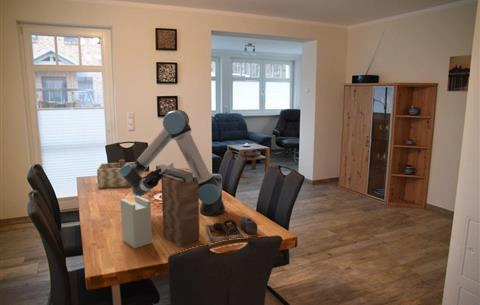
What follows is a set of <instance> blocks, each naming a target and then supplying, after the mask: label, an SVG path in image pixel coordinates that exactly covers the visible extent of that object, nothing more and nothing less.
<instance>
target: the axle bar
mask: <svg viewBox="0 0 480 305" xmlns="http://www.w3.org/2000/svg"><path fill="white" fill-rule="evenodd" d="M162 165H163V164H159V165H155V170H158V169H159V168H160V167H161V166H162ZM164 165H165V167H166V170H165V171H164V172H163V173H161V174H159V175H163V174H167V175H170V176H173V177H176V178H179V179H183V180H184V182H185V183H187V182H192V181H193V173H192V172H191V171H187V170H183V169H179V168H176V167H174V168H173V167H170V166H169V165H166V164H164Z"/></svg>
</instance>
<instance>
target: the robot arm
mask: <svg viewBox="0 0 480 305" xmlns="http://www.w3.org/2000/svg"><path fill="white" fill-rule="evenodd" d="M189 123H190V117H189V115H188V113H187V112H186V111H184V110H182V109H176V110H171V111H169V112H167V113H166V114H165V115H164V117H163V120H162V127H163V129H162V130H160V132H159V133H158V134H157V136H155V138H154V139H153V140H152V141H151V142H150V144H149V145H148V146H147V148H145V149H144V151H143V152H142V153H141V155H140V156H139V157H138V158H137V159H136V160H135V161H133V162H134V164H133V165H131V164H130V163H127V162H126V163H127V164H126V165H124V166H123V167H122V168H121V169H120V170H119V173H120V174H121V175H122V177H123V178H124V179H125V180H126V181H127V182H128V183H129V184H130V185H131V186H130V187H131V188H132V189H131V190H132V194H133V195H134V197H135V196H140V197H143V196H145V195H147V193H149V192H151V190H152V189H154V188H155V187H157V186H158V184H159V182H160V181H161V178H163V175H159V174H161V173H163V172H164V171H165V170H166V167H165V165H166V164H161V165H162V166H161V167H160V168H159V169H158V170H156V169H155V170H150V172H149V173H148V174H146V175H145V176H142V175H143V174H144V173H145V171H146V170H147V168H148V167H149V166H150V165H151V164H152V163H153V161H154V160H156V158H157V157H158V156H159V155H160V154H161V152H162V151H163V150H164V149H165V147H167V146H168V145H169V143H170V142H171V141H172V140H173V141H175V142H176V143H177V145H178V147H179V148H178V149H179V150H180V152H181V153H182V156H183V158H184V160H185V162H186V164H187V166H188V168H189V169H190V170H189V171H190V172H191V173H193V176H194V177H197V180H198V193H199V201H200V202H201V203H200V205H199V214H201V215H204V216H208V217H213V216H214V217H215V216H221V215H222V214H224V213H226V206H225V203H224V200H223V177H222V176H223V175H222V174H220V173H210V172H209V171H210V170H209V169H208V167H207V165H206V164H205V161H204V160H203V157H202V155H201V153H200V151H199V149H198V145H196V142H195V141H194V138H193V136H192V134H191V133H192V128H191V125H190V124H189ZM168 166H170V167H173V168H175V165H174V163H170V164H169V165H168Z"/></svg>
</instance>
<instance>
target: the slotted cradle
mask: <svg viewBox="0 0 480 305" xmlns="http://www.w3.org/2000/svg"><path fill="white" fill-rule="evenodd" d="M119 202H120V214H121V215H120V216H121V217H120V218H121V231H122V232H121V233H122V234H121V235H122V242H124V243H126V244H127V245H128V246H131V247H132V248H133V249H137V248H140V247H143V246H146V245H148V244H152V243H153V234H152V233H153V232H152V231H153V230H152V210H151V201H150V200H148V199H146V198H144V197H143V196H141V197H140V196H135V195H134V201H129V200H127V199H125V198H122V199H120V201H119Z"/></svg>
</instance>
